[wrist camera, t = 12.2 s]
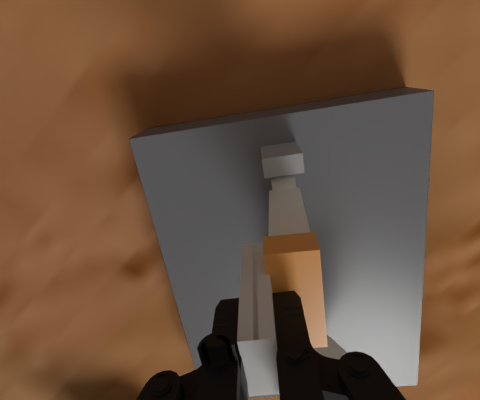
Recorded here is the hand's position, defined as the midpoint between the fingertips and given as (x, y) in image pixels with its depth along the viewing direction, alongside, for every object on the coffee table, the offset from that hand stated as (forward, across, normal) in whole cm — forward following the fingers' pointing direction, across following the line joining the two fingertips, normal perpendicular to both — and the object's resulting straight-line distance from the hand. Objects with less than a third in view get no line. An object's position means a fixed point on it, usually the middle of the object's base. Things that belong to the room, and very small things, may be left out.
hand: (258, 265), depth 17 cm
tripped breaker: (+6, -2, 0) cm, 6 cm away
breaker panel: (+11, -2, +6) cm, 13 cm away
